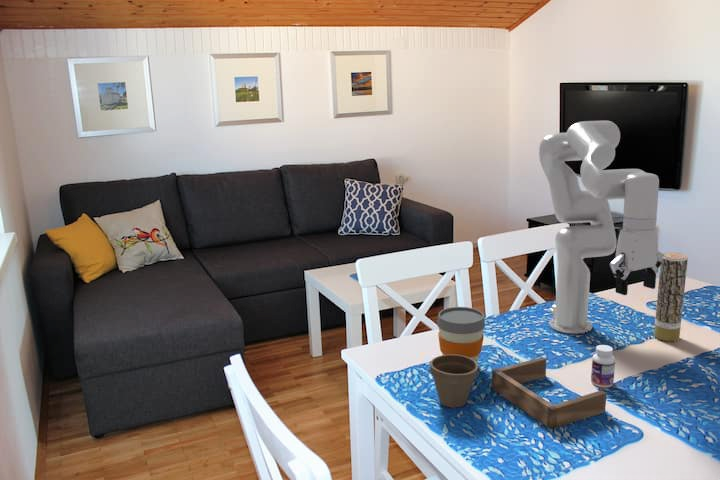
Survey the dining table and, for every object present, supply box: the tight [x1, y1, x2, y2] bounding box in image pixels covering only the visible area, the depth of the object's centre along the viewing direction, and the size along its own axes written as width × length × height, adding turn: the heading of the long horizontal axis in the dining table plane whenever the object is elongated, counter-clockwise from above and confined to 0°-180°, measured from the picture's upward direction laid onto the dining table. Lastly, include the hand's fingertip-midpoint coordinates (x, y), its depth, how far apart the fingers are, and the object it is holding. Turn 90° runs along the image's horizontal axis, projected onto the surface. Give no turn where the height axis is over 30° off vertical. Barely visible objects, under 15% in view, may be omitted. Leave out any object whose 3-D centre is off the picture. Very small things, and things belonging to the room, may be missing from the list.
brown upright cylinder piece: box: [653, 252, 689, 343], centre depth 190 cm, size 7×7×25 cm
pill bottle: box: [590, 344, 616, 389], centre depth 166 cm, size 5×5×10 cm
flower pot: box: [429, 354, 479, 408], centre depth 159 cm, size 12×11×10 cm
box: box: [491, 356, 608, 430], centre depth 159 cm, size 22×16×5 cm
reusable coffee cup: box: [436, 306, 486, 365], centre depth 177 cm, size 13×13×15 cm
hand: (635, 290), depth 165 cm, fingers open, 9 cm apart
